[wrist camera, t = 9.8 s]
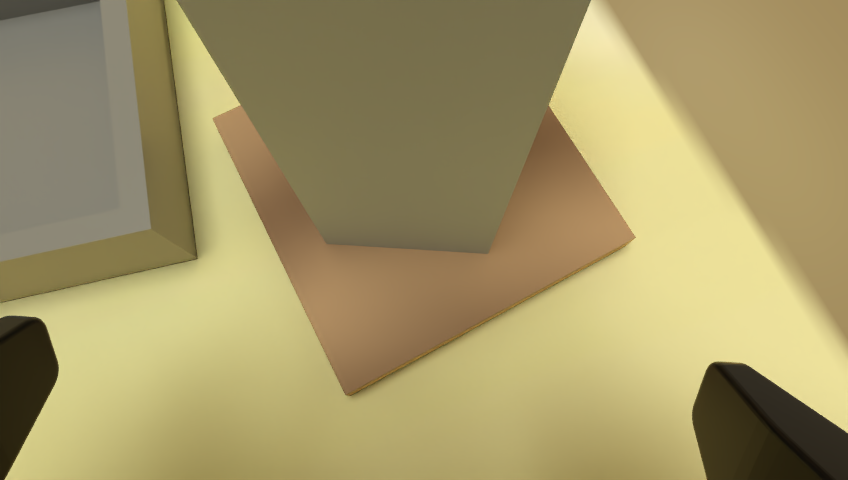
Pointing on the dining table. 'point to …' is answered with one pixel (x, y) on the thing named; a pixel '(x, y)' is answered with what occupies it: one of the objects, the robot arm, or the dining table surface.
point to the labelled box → (395, 106)
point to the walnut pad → (429, 257)
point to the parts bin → (88, 145)
